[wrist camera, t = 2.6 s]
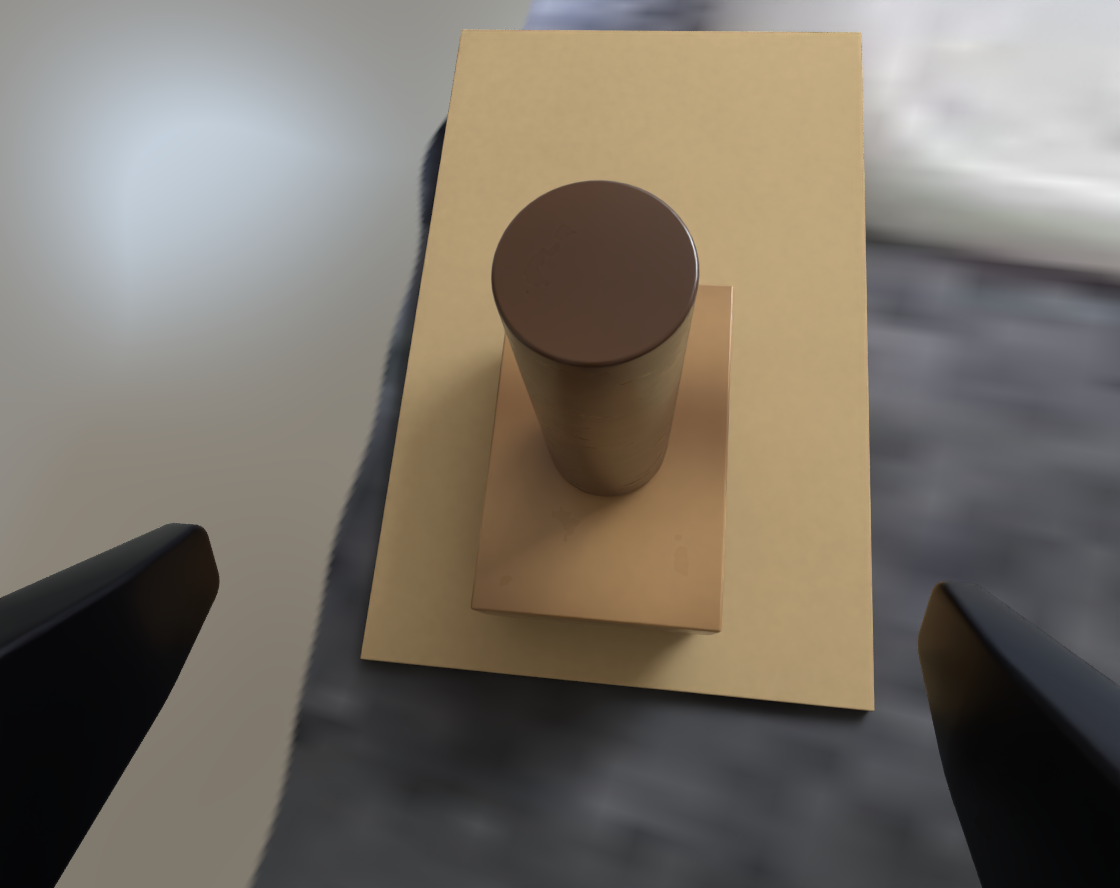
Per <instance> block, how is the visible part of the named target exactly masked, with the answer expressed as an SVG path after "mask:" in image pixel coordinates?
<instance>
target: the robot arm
mask: <svg viewBox="0 0 1120 888" xmlns="http://www.w3.org/2000/svg"><path fill="white" fill-rule="evenodd" d="M218 589H219V573H218V569H217V566H216V562H215V559H214V555H213V551H212V548H211V544H210V541H209V537H208V534H207V532H206V531H205V529H204V528H203V527H201V526H199V525H193V524H180V523H171V524H167V525H164V526H162V527H160V528H157V529H155V530H153V531H151V532H148V533H146V534H144V535H141V536H139V537H137V538H135V539H132V540H130V541H128V542H126V543H123V544H121V545H119V546H117V547H114V548H112V549H110V550H108V551H105V552H103V553H101V554H98V555H96V556H94V557H92V558H89V559H87V560H85V561H83V562H80V563H78V564H76V565H74V566H71V567H69V568H67V569H65V570H62V571H60V572H58V573H56V574H53V575H51V576H49V577H46V578H44V579H42V580H40V581H37V582H35V583H33V584H31V585H28V586H26V587H24V588H22V589H19V590H17V591H15V592H13V593H10V594H8V595H6V596H3V597H2V598H0V888H54V887H55V885H56V884H57V882H58V880H59V879H60V877H61V875H62V873H63V872H64V870H65V869H66V867H67V865H68V864H69V862H70V860H71V859H72V857H73V855H74V854H75V852H76V850H77V849H78V847H79V845H80V844H81V842H82V840H83V839H84V837H85V835H86V834H87V832H88V830H89V829H90V827H91V825H92V824H93V822H94V820H95V819H96V817H97V815H98V814H99V812H100V810H101V809H102V807H103V805H104V804H105V802H106V800H107V799H108V797H109V795H110V794H111V792H112V790H113V789H114V787H115V785H116V784H117V782H118V780H119V779H120V777H121V776H122V774H123V772H124V770H125V768H126V767H127V766H128V764H129V762H130V761H131V759H132V757H133V756H134V754H135V752H136V751H137V749H138V747H139V746H140V744H141V742H142V741H143V739H144V737H145V735H146V734H147V732H148V731H149V729H150V727H151V725H152V724H153V722H154V721H155V719H156V717H157V716H158V714H159V712H160V710H161V709H162V707H163V705H164V703H165V702H166V700H167V698H168V696H169V694H170V692H171V690H172V688H173V686H174V684H175V682H176V680H177V679H178V676H179V674H180V672H181V670H182V668H183V666H184V664H185V661H186V659H187V657H188V655H189V653H190V651H191V649H192V647H193V644H194V642H195V640H196V638H197V636H198V634H199V632H200V630H201V627H202V625H203V623H204V621H205V619H206V617H207V615H208V613H209V610H210V608H211V606H212V604H213V602H214V600H215V598H216V595H217V593H218ZM918 654H919V659H920V664H921V668H922V673H923V678H924V683H925V687H926V692H927V697H928V701H929V706H930V711H931V715H932V720H933V725H934V729H935V734H936V739H937V743H938V748H939V753H940V757H941V761H942V765H943V769H944V774H945V777H946V781H947V784H948V787H949V790H950V793H951V797H952V800H953V803H954V806H955V809H956V812H957V815H958V817H959V820H960V823H961V826H962V829H963V832H964V835H965V838H966V841H967V844H968V847H969V850H970V853H971V856H972V859H973V862H974V865H975V868H976V871H977V874H978V877H979V880H980V882H981V885H982V888H1120V686H1118V685H1117V684H1116V683H1114V682H1113V681H1112V680H1110V679H1109V678H1107V677H1106V676H1105V675H1103V674H1102V673H1100V672H1099V671H1098V670H1096V669H1095V668H1093V667H1092V666H1091V665H1089V664H1088V663H1086V662H1085V661H1084V660H1082V659H1081V658H1079V657H1078V656H1077V655H1075V654H1074V653H1072V652H1071V651H1070V650H1068V649H1067V648H1065V647H1064V646H1063V645H1061V644H1060V643H1059V642H1057V641H1056V640H1054V639H1053V638H1052V637H1050V636H1049V635H1047V634H1046V633H1045V632H1043V631H1042V630H1040V629H1039V628H1038V627H1036V626H1035V625H1033V624H1032V623H1031V622H1029V621H1028V620H1026V619H1025V618H1024V617H1022V616H1021V615H1019V614H1018V613H1017V612H1015V611H1014V610H1013V609H1011V608H1010V607H1008V606H1007V605H1006V604H1004V603H1003V602H1001V601H1000V600H999V599H997V598H996V597H994V596H993V595H992V594H990V593H989V592H987V591H986V590H985V589H983V588H982V587H980V586H979V585H977V584H974V583H965V582H952V581H941V582H939V583H937V584H936V585H935V587H934V588H933V590H932V593H931V596H930V599H929V602H928V606H927V609H926V612H925V615H924V618H923V622H922V625H921V628H920V631H919V636H918Z"/></svg>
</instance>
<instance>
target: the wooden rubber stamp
mask: <svg viewBox="0 0 1120 888" xmlns="http://www.w3.org/2000/svg"><path fill="white" fill-rule="evenodd" d="M699 276H700V274H699V259H698V253H697V249H696V246H695V243H694V240H693V238H692V236H691V234H690V232H689V230H688V228H687V227H686V225H685V224H684V222H683V221H682V219H681V218H680V217H679V216H678V214H677V213H676V212H675V211H674V210H673V209H672V208H671V207H670V206H669V205H667V204H666V203H665V202H664V201H663V200H661V199H660V198H658V197H656V196H655V195H653V194H652V193H650V192H648V191H646V190H643V189H641V188H639V187H636V186H633V185H630V184H626V183H621V182H616V181H607V180H589V181H582V182H575V183H571V184H567V185H564V186H561V187H558V188H556V189H553V190H551V191H549V192H547V193H545V194H543V195H541V196H539V197H538V198H536V199H535V200H534V201H532V202H531V203H529V204H528V205H527V206H526V207H525V208H523V209H522V210H521V211H520V212H519V213H518V214H517V215H516V217H515V218H514V219H513V220H512V221H511V222H510V224H509V225H508V227H507V228H506V230H505V231H504V233H503V235H502V237H501V239H500V241H499V243H498V245H497V248H496V251H495V254H494V258H493V263H492V271H491V284H492V293H493V297H494V301H495V304H496V307H497V310H498V313H499V315H500V318H501V321H502V324H503V326H504V329H505V334H504V342H503V350H502V358H501V366H500V374H499V382H498V390H497V398H496V406H495V414H494V422H493V430H492V438H491V446H490V454H489V462H488V470H487V478H486V487H485V495H484V503H483V511H482V519H481V527H480V535H479V543H478V551H477V559H476V567H475V575H474V583H473V591H472V599H471V609H472V610H475V611H478V612H481V613H484V614H487V615H495V616H505V617H516V618H527V619H537V620H548V621H559V622H569V623H580V624H591V625H601V626H612V627H623V628H633V629H644V630H655V631H665V632H676V633H687V634H697V635H708V636H709V635H713V634H716V633H719V632H721V630H722V608H723V579H724V551H725V522H726V493H727V465H728V436H729V407H730V378H731V350H732V321H733V292H734V288H733V286H730V285H707V284H699Z"/></svg>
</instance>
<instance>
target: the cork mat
mask: <svg viewBox="0 0 1120 888" xmlns="http://www.w3.org/2000/svg"><path fill="white" fill-rule="evenodd" d="M589 180H607V181H616V182H621V183H626V184H630V185H633V186H636V187H639V188H641V189H643V190H646V191H648V192H650V193H652V194H653V195H655V196H656V197H658V198H660V199H661V200H663V201H664V202H665V203H666V204H667V205H669V206H670V207H671V208H672V209H673V210H674V211H675V212H676V213H677V214H678V216H679V217H680V218H681V219H682V221H683V222H684V224H685V225H686V227H687V228H688V230H689V232H690V234H691V236H692V238H693V240H694V243H695V246H696V249H697V253H698V259H699V274H700V276H699V284H707V285H730V286H733V288H734V292H733V321H732V350H731V378H730V407H729V436H728V465H727V493H726V522H725V551H724V579H723V608H722V630H721V632H719V633H716V634H713V635H709V636H708V635H697V634H687V633H676V632H665V631H655V630H644V629H633V628H623V627H612V626H601V625H591V624H580V623H569V622H559V621H548V620H537V619H527V618H516V617H505V616H495V615H487V614H484V613H481V612H478V611H475V610H472V609H471V599H472V591H473V583H474V575H475V567H476V559H477V551H478V543H479V535H480V527H481V519H482V511H483V503H484V495H485V487H486V478H487V470H488V462H489V454H490V446H491V438H492V430H493V422H494V414H495V406H496V398H497V390H498V382H499V374H500V366H501V358H502V350H503V342H504V334H505V329H504V326H503V324H502V321H501V318H500V315H499V313H498V310H497V307H496V304H495V301H494V297H493V293H492V284H491V271H492V263H493V258H494V254H495V251H496V248H497V245H498V243H499V241H500V239H501V237H502V235H503V233H504V231H505V230H506V228H507V227H508V225H509V224H510V222H511V221H512V220H513V219H514V218H515V217H516V215H517V214H518V213H519V212H520V211H521V210H522V209H523V208H525V207H526V206H527V205H528V204H529V203H531V202H532V201H534V200H535V199H536V198H538V197H539V196H541V195H543V194H545V193H547V192H549V191H551V190H553V189H556V188H558V187H561V186H564V185H567V184H571V183H575V182H582V181H589ZM361 659H366V660H376V661H385V662H395V663H405V664H415V665H425V666H434V667H444V668H454V669H464V670H474V671H483V672H493V673H503V674H513V675H523V676H532V677H542V678H552V679H562V680H572V681H581V682H591V683H601V684H611V685H621V686H630V687H640V688H650V689H660V690H669V691H679V692H689V693H699V694H709V695H718V696H728V697H738V698H748V699H758V700H767V701H777V702H787V703H797V704H807V705H816V706H826V707H836V708H846V709H856V710H865V711H874V672H873V618H872V564H871V510H870V456H869V402H868V348H867V294H866V240H865V186H864V132H863V78H862V33H856V32H720V31H585V30H462V31H461V37H460V43H459V49H458V55H457V61H456V68H455V74H454V80H453V87H452V93H451V99H450V105H449V111H448V117H447V124H446V130H445V136H444V142H443V148H442V155H441V161H440V167H439V173H438V180H437V186H436V192H435V198H434V204H433V211H432V217H431V223H430V229H429V236H428V242H427V248H426V254H425V260H424V267H423V273H422V279H421V285H420V291H419V298H418V304H417V310H416V316H415V323H414V329H413V335H412V341H411V347H410V354H409V360H408V366H407V372H406V378H405V385H404V391H403V397H402V403H401V410H400V416H399V422H398V428H397V434H396V441H395V447H394V453H393V459H392V466H391V472H390V478H389V484H388V490H387V497H386V503H385V509H384V515H383V521H382V528H381V534H380V540H379V546H378V553H377V559H376V565H375V571H374V577H373V584H372V590H371V596H370V602H369V608H368V615H367V621H366V627H365V633H364V640H363V646H362V652H361Z"/></svg>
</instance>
